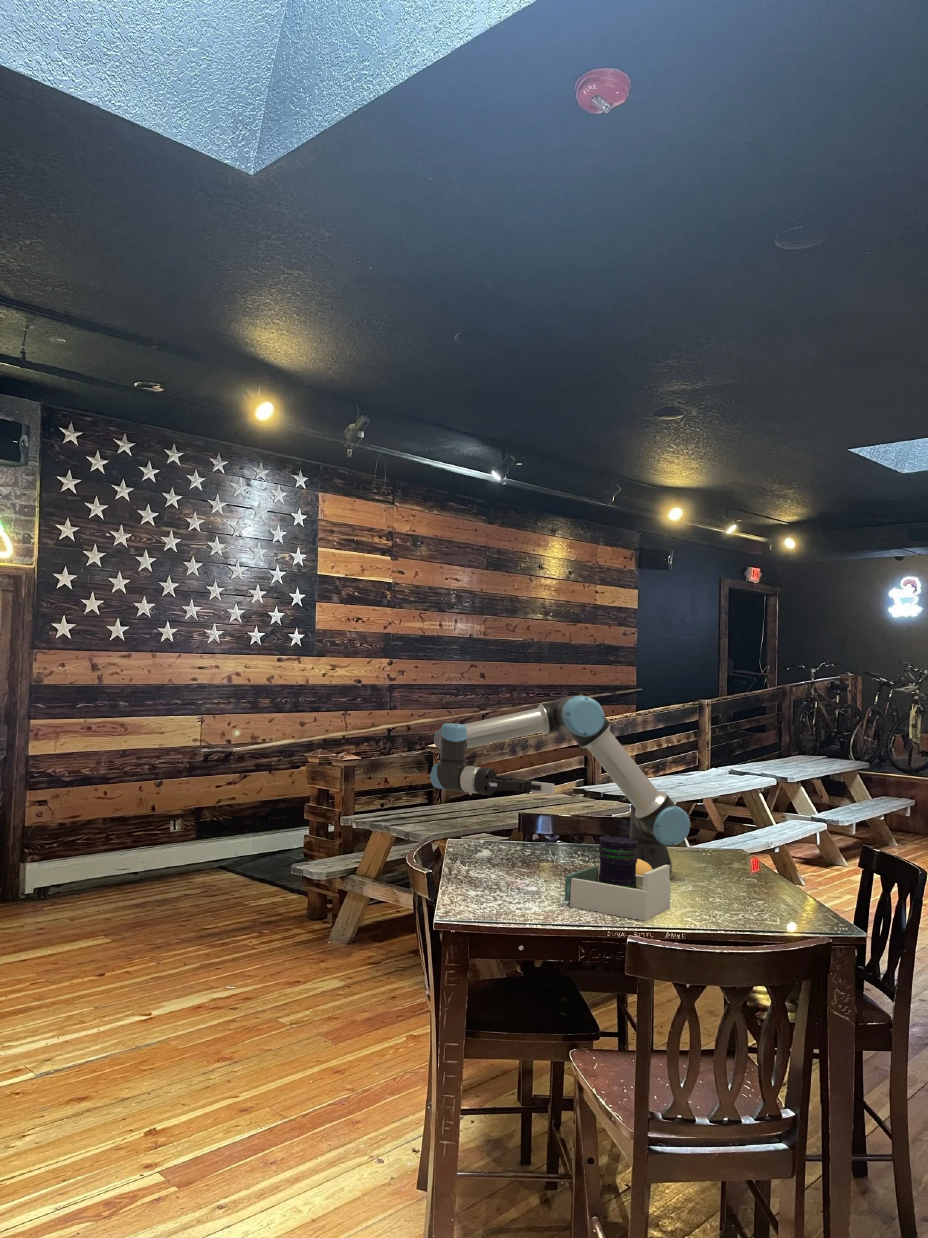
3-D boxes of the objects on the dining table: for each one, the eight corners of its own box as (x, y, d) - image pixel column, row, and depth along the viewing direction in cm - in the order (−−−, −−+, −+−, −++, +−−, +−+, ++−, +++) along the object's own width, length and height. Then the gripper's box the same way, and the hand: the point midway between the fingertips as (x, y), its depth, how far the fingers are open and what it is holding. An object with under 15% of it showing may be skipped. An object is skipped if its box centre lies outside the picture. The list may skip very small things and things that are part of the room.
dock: (570, 906, 222) (571, 862, 223) (598, 895, 237) (600, 853, 238) (644, 921, 211) (646, 875, 212) (670, 908, 226) (671, 864, 227)
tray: (564, 900, 223) (565, 875, 224) (593, 889, 238) (594, 865, 239) (637, 914, 212) (638, 888, 213) (663, 901, 227) (664, 877, 228)
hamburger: (621, 895, 238) (622, 863, 239) (606, 885, 250) (608, 855, 251) (662, 896, 240) (663, 864, 241) (646, 886, 252) (647, 855, 253)
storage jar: (641, 903, 221) (643, 843, 222) (604, 902, 219) (607, 842, 221) (628, 893, 231) (630, 836, 232) (592, 893, 229) (594, 835, 230)
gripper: (490, 792, 256) (563, 801, 243) (466, 795, 245) (541, 805, 232) (491, 766, 256) (564, 774, 243) (468, 768, 245) (542, 776, 233)
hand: (553, 789), depth 238 cm, fingers closed
